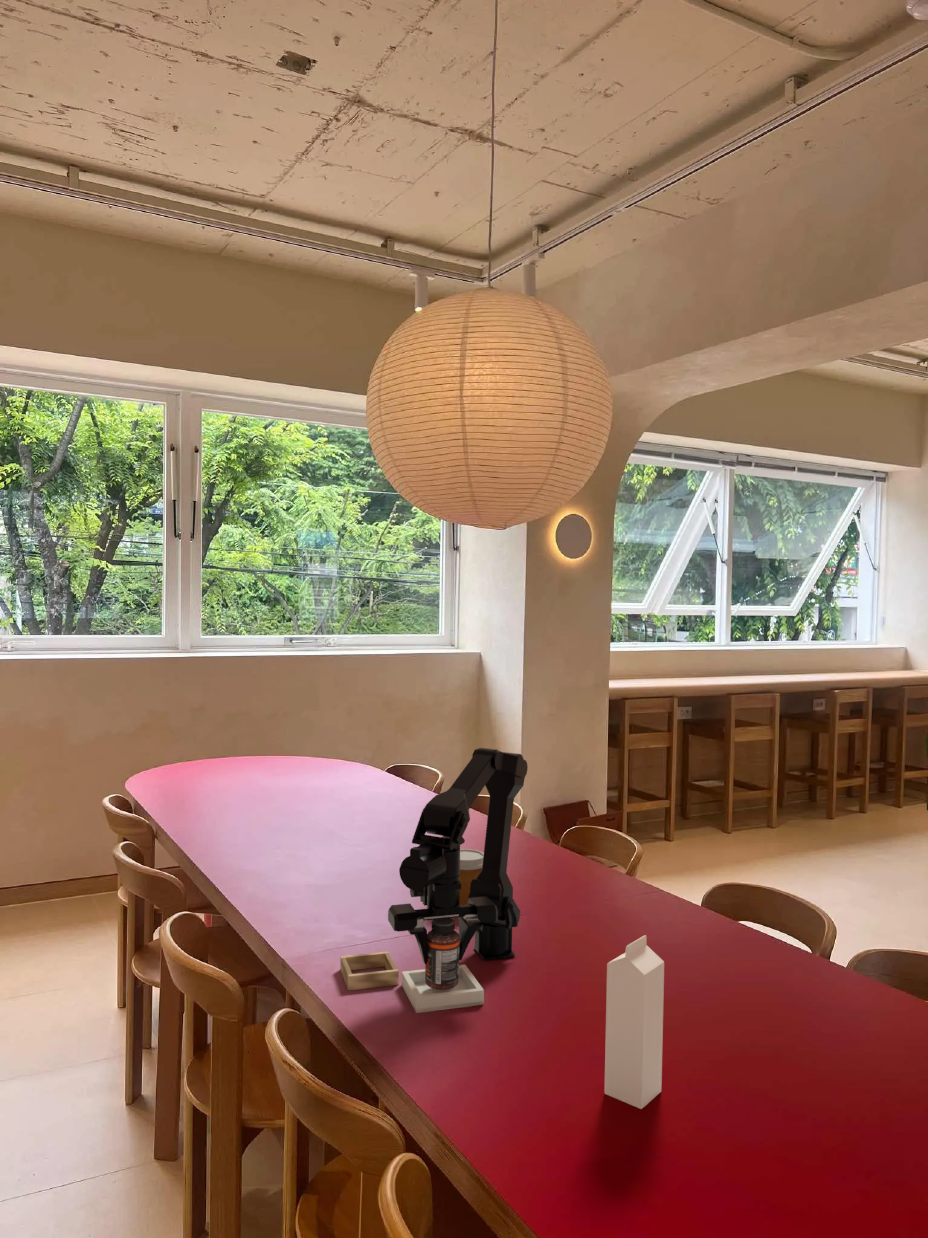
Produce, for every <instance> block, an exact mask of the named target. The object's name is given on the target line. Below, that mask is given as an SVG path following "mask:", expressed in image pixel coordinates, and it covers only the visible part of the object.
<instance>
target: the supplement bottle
mask: <svg viewBox="0 0 928 1238" xmlns="http://www.w3.org/2000/svg"><path fill="white" fill-rule="evenodd" d="M455 923H456V922H455V920H454V919H453V918H444V919H434V920H431V930H430V931H427V945H428V960H427V964H424V965H425V967H424V969H425V982H426V984H427V985H428V986H429V987H430V988H433V989H436V990H448V989H452V988H454V987H455V986H456V985H457V984H458V979H459V965H460V960H459V946H460V938H459V932H457V931H456V930H455V928H456V927H455Z"/></svg>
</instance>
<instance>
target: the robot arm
mask: <svg viewBox="0 0 928 1238" xmlns="http://www.w3.org/2000/svg"><path fill="white" fill-rule="evenodd" d="M528 767H529V766H528V762H527V760H526V759H524V756H523V755H522V754H521V753H513V752H506V751H501V750H500V751H499V749H495V748H488V747H487V748H485V747H478V748H475V749H474V750H473V753H472V755H471V759H470V760H469V761H468V763H467V764H466V766H465V767H464V768H463V770H462V771H461V773H460V774H458V776H457V778H456V779H455V780H454V782H453V783H452V785H451V786H450V787H449V788H448V789H447V790H446V791H443V792H441V793H439V794H436V795H435V796H433V797H432V798H431V799H430V800H429V802H428V801H427V803H426V805H425V806H424V808H422V811H421V814H420V816H419V819H418V822H417V826H416V828H415V832H414V833H413V837H412V841H411V844H413V845H418V846H413V847H411V848H410V849H409V856H406V857H405V858H404V859H403V860H402V862H401V864H400V866H399V871H398V872H399V877H400V880H401V881H402V883H403V885H404V886H405V887H406V888H408V889H409V893H410V897H411V898H418V897H419V899H420V902H421V903H422V904H423V905H424V906H426V908H419V909H415V907H413V905H412V904H411V903H402V904H401V903H400V904H392V905H391V906H390V907H389V908H388V911H387V921H388V922H389V925H390V926H391V927H392V929H393V931H394V932H408V933H409V934H410V935H413V936H414V938H415V939H416V942H417V947H418V949H419V953H420V955H421V959H422V961H423V964H424V965H425V964H427V960H428V945H427V934H428V930H427V929H426V927H425V926H424V923H425V922H424V921H433V920H434V919H444V918H451V919H453V918H454V919H455V918H457V919H458V934H459V938H460V946H459V961H462V960H463V957H464V955H465V952H467V951H466V950H468V949H467V948H468V947H469V944H470V943H471V940H472V938H473V937H474V946H473V947H474V949H475V951H476V952H477V953H478V955H479V956H480V957H481V959H482V960H484V961H487V960H497V959H499V960H500V959H507V958H514V957H516V956H515V955H516V954H515V952H514V951H513V928H517V927H518V926H519V922H520V919H521V910H520V909H519V907H518V905H517V903H516V902H515V900H514V887H513V884H512V883H511V880H510V878H509V876H508V873H507V872H508V871H507V869H508V859H509V850H510V839H511V832H512V831H511V829H512V823H513V822H512V820H513V812H514V811H513V810H514V801H515V798H516V796H517V795H518V794H519V792H520V791H521V790H522V788H523V787H524V785H525V784H524V782H525V778H526V776H527V774H528ZM484 788H486V790H487V792H488V795H489V800H488V801H489V802H488V807H487V808H488V811H487V819H486V829H485V838H484V848H483V853H484V855H483V865H482V871H481V872H480V874H479V875H478V876H477V878H476V879H473V880H472V882H471V884H470V894H469V898H468V903H467V905H459V900H460V889H461V883H460V849H461V845H463V844H465V841H466V840H465V837H463V835H464V834H465V832H466V830H467V827H468V825H469V823H470V820H471V815H470V809H471V807H472V805H473V803H474V802H475V801H476V799H477V798H478V796H479V795H480V793H481V792H482V791H483V789H484Z"/></svg>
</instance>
